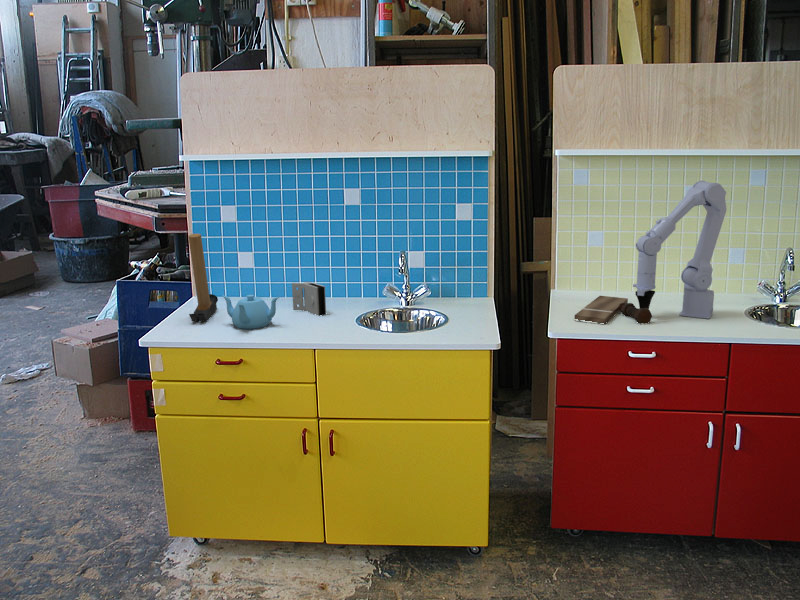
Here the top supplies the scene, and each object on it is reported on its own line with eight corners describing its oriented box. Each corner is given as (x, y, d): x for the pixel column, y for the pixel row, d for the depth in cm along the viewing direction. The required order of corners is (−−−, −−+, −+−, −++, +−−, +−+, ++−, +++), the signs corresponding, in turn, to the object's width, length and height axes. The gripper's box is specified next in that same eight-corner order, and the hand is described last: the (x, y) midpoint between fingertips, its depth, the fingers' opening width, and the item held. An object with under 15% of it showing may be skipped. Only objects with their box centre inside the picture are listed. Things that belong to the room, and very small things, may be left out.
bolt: (623, 317, 257) (646, 328, 243) (612, 311, 256) (633, 321, 242) (632, 302, 257) (655, 312, 242) (620, 296, 255) (642, 305, 241)
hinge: (292, 310, 267) (291, 283, 265) (303, 307, 271) (302, 280, 269) (320, 316, 259) (319, 287, 256) (331, 313, 263) (330, 285, 261)
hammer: (206, 329, 253) (194, 246, 241) (191, 329, 253) (178, 246, 241) (219, 304, 272) (208, 225, 259) (205, 304, 272) (194, 225, 259)
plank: (627, 303, 267) (627, 298, 267) (604, 324, 242) (605, 318, 242) (599, 300, 272) (599, 295, 272) (574, 321, 247) (574, 314, 247)
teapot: (264, 317, 260) (262, 288, 257) (283, 326, 248) (281, 296, 245) (223, 324, 252) (221, 294, 249) (241, 334, 240) (238, 303, 237)
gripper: (639, 267, 255) (636, 306, 258) (628, 275, 242) (626, 316, 246) (660, 269, 251) (658, 308, 254) (651, 277, 239) (648, 318, 242)
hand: (644, 312), depth 250 cm, fingers closed
